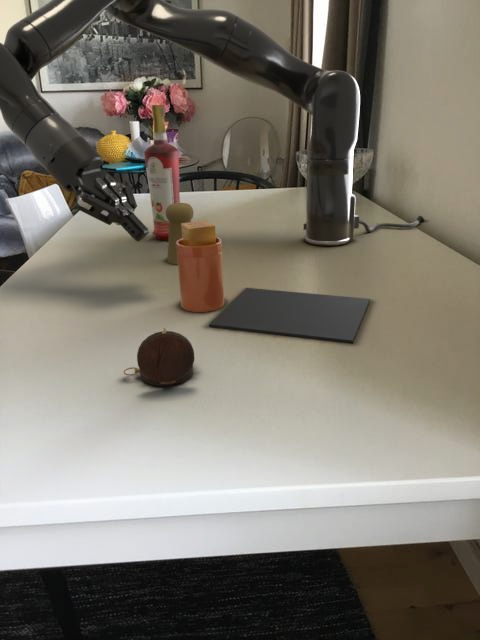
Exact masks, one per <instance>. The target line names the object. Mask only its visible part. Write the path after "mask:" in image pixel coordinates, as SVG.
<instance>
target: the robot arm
mask: <svg viewBox="0 0 480 640" xmlns="http://www.w3.org/2000/svg"><path fill="white" fill-rule="evenodd" d="M104 11H105V12H106V13H107V14H109V15H110V16H111V17H113V18H114V19H116V20H118V21H120V22H122V23H124V24H126V25H129V26H130V27H134V28H136V29H138V30H141V31H143V32H145V33H147V34H151V35H154V36H156V37H159V38H160V39H164V40H165V41H167V42H170V43H173V44H174V45H176V46H178V47H181V48H183V49H184V50H187V51H189V52H191V53H193V54H195V55H197V56H198V57H200V58H203V59H205V60H206V61H207V62H210V63H211V64H213V65H215V66H217V67H219V68H220V69H222V70H224V71H226V72H228V73H230V74H232V75H234V76H236V77H239V78H241V79H243V80H245V81H247V82H250V83H252V84H256V86H257V85H258V86H259V87H263V88H265V89H268V90H271V91H273V92H275V93H277V94H280V95H281V96H283V97H284V98H286V99H288V100H289V101H290V102H292V103H294V104H295V105H296V106H298V107H299V108H301V109H302V110H304V111H305V112H307V113H308V114H309V115H310V116H311V130H310V131H311V132H310V138H309V142H308V143H307V146H306V157H307V158H306V197H305V198H306V201H305V203H306V205H305V207H306V208H305V209H306V210H305V218H306V219H305V223H303V231H305V236H304V237H305V238H304V240H305V241H306V243H309V244H312V245H316V246H332V247H333V246H340V245H345V244H348V243H349V242H354V237H355V230H356V229H359V228H360V225H362V226H363V227H364V230H365V231H366V232H368V233H372V232H374V230H375V229H377V228H381V227H385V228H386V227H388V228H389V227H390V228H403V229H406V228H413V227H416V226H417V225H419V224H420V222H421V223H425V222H426V221H425V219H424V217H423V216H422V215H418V216H417V218H416V220H414V222H411V223H396V222H394V223H393V222H378V223H375V224H374V223H373V224H372V226H371V227H369V224H368V223H367V222H366V221H365V220H363V219H360V216H359V215H357V214H355V213H356V195H355V194H353V193H352V192H353V191H352V190H353V169H354V150H355V147H356V144H357V141H358V133H359V121H360V108H361V107H360V106H361V94H360V92H361V91H360V87H359V84H358V82H357V80H356V79H355V77H354V76H353V75H351V74H350V73H349V72H347V71H344V70H339V69H338V70H336V69H335V70H327V69H323V68H321V67H318V66H315V65H313V64H311V63H309V62H306V61H304V60H302V59H301V58H299V57H298V56H295V55H294V54H292V53H291V52H290V51H288V50H287V49H285V47H284V46H282V45H281V44H280V43H279V42H278V41H277V40H276V39H274V38H273V37H272V36H271V35H269V34H268V33H267V32H266V31H264V30H263V29H262V28H259V27H258V26H257V25H255V24H254V23H252V22H250V21H248V20H247V19H245V18H243V17H241V16H239V15H238V14H235V13H234V12H232V11H229V10H226V9H225V10H224V9H218V8H183V7H179V6H176V5H173V4H172V3H169V2H167V1H165V0H50V1H48V2H47V3H45V4H44V5H43V6H41V7H40V8H38V9H36V10H34V11H33V12H32V13H30V14H28V15H27V16H24V17H23V18H21V19H20V20H19V21H17V22H15V23H14V24H13V25H11V26H10V27H9V28H8V29H7V31H6V35H5V39H4V42H3V43H2V42H0V113H1V116H2V119H3V121H4V124H5V125H6V126H7V127H8V129H9V130H10V131H11V132H12V134H13V135H15V137H16V138H17V139H18V140H19V141H20V142H21V143H23V145H24V146H25V147H26V148H27V149H28V150H29V152H30V153H31V155H32V156H33V158H34V159H35V160H36V161H37V162H38V164H40V165H41V166H42V167H43V169H45V170H46V171H47V172H48V174H49V175H50V176H51V177H52V178H53V179H54V180H55V181H56V182H57V184H59V185H60V186H61V187H62V188H63V189H64V191H66V192H67V193H74V194H75V195H76V196H77V197H78V200H77V202H76V203H75V204H74V206H75V208H76V210H77V211H80V212H82V213H83V214H86V215H88V216H90V217H92V218H94V219H95V220H98V221H100V222H102V223H104V224H105V225H108V226H111V225H112V224H113V223H114V224H115V225H117V226H120V227H122V228H123V229H124V231H126V232H127V234H129V236H130V237H131V238H133V239H134V241H135V242H140V241H142V240H143V239H144V240H145V238H146V237H147V236H148V235H149V234H150V229H149V228H148V227H147V226H146V225H145V223H143V222H142V221H141V219H140V218H139V217H138V216H137V215H136V214H135V211H136V208H137V207H138V204H137V201H136V198H135V195H134V193H133V190H132V187H131V184H130V182H128V181H127V180H123V181H122V183H120V182H117V181H116V180H115V179H114V177H113V176H112V175H111V174H110V173H108V172H107V171H105V170H104V159H103V156H102V155H101V154H100V153H99V152H98V151H97V150H96V149H95V148H94V147H93V146H92V145H91V144H90V143H89V141H88V140H87V139H85V137H84V136H83V135H82V134H81V133H80V132H79V131H78V130H77V129H76V128H75V127H74V125H72V124H71V123H70V122H69V121H67V119H65V118H64V117H63V116H62V115H61V114H60V113H59V112H58V111H57V109H55V108H54V107H53V106H52V105H51V104H50V103H49V102H48V101H47V100H46V98H45V97H43V96H42V95H41V94H40V91H38V89H37V87H36V86H35V84H34V82H33V79H34V78H35V77H36V75H37V74H38V73H39V72H40V71H41V70H42V69H43V68H45V67H46V66H48V65H49V64H52V62H54V61H55V60H56V59H59V57H61V56H62V55H64V54H65V53H66V52H68V51H69V50H70V49H71V48H72V47H74V46H75V45H76V44H77V42H78V41H79V40H80V39H81V38H82V37H83V35H84V34H85V33H86V32H87V31H88V29H90V27H91V26H92V25H93V23H95V21H96V20H97V19H98V18H99V17H100V15H101V14H102V13H103V12H104Z"/></svg>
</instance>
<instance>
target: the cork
mask: <svg viewBox="0 0 480 640" xmlns="http://www.w3.org/2000/svg"><path fill="white" fill-rule="evenodd" d="M166 217H167V219H168V220H169V240H167V241H168V243H167V244H168V245H167V261H166V262H167V263H168V264H171V265H177V266H178V260H177V252H176V242H177V240H179V239H182V228H181V223H189V222H192V219H194V209H193V206H192V205H191V204H190V203H186V202H180V203H174V204H171V205H169V206H168V207H167V209H166Z"/></svg>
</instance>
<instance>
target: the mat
mask: <svg viewBox="0 0 480 640" xmlns="http://www.w3.org/2000/svg"><path fill="white" fill-rule="evenodd" d="M370 302H371V299H370V298H364V297H354V296H343V295H342V296H341V295H331V294H320V293H309V292H298V291H286V290H276V289H275V290H274V289H263V288H252V287H245V289H243V290H242V291H241V293H239V294H238V295H237V296H236V297H235V298H234V300H232V301H231V302H230V303H229V304H228V305H227V306H226V307H225V308H224V309H223V310H222V311H220V313H219V314H218V315H217V316H216V317H215V318H214V319H213V320H211V322H210V323H208V326H209V327H210V328H218V329H224V330H225V329H227V330H236V331H242V332H243V331H244V332H253V333H260V334H261V333H262V334H268V335H277V336H278V335H280V336H287V337H295V338H305V339H312V340H313V339H314V340H320V341H321V340H322V341H329V342H330V341H331V342H340V343H347V344H353V343H354V341H355V339H356V336H357V334H358V331H359V329H360V326H361V325H362V321H363V320H364V317H365V314H366V312H367V309H368V307H369V304H370Z"/></svg>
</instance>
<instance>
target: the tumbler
mask: <svg viewBox="0 0 480 640" xmlns="http://www.w3.org/2000/svg"><path fill="white" fill-rule="evenodd" d="M176 252H177V260H178V265H177V269H178V270H177V272H178V285H179V286H178V287H179V299H180V307H181V308H182V309H183V310H185V311H188V312H193V313H206V312H213V311H217V310H219V309H221V308H222V307H224V306H225V292H224V291H225V289H224V266H223V265H224V264H223V240H222V239H221V238H220V237H218V236H216V244H213V245H208V246H197V247H192V246H184V245H183V242H182V239H179V240H177V242H176Z"/></svg>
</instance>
